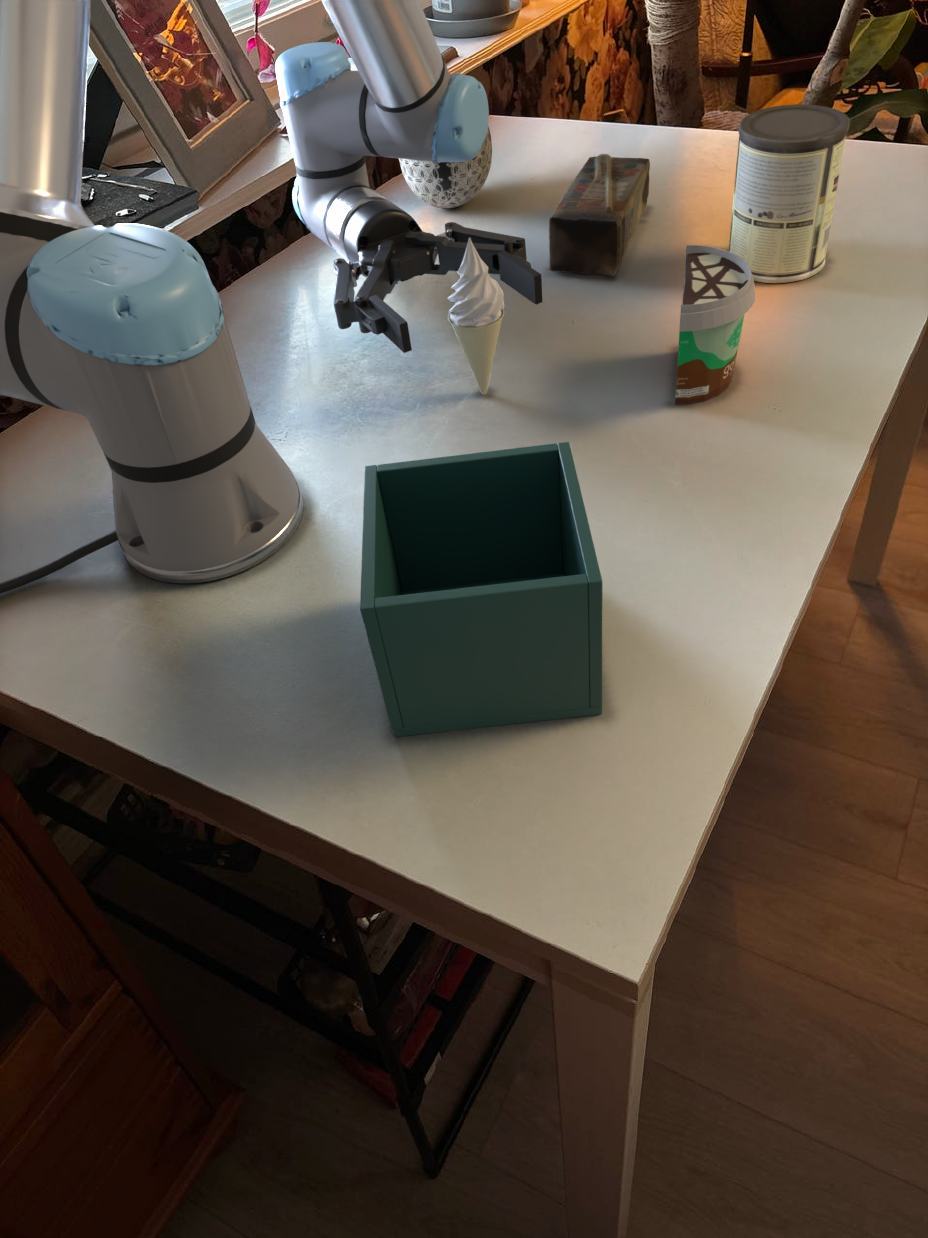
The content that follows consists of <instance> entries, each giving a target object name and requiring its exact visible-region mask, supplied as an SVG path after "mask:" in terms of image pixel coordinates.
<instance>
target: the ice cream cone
mask: <svg viewBox="0 0 928 1238" xmlns="http://www.w3.org/2000/svg"><path fill="white" fill-rule="evenodd" d="M456 273H457V274H458V275H459V279H458V280H457V282H455V283H454V284H452V285H451V287H450V289H453V290H455V291H454V292H452V294H451V295H448V297H447V300H448V301H449V302H450V303H454V305H453V306H452V307H451V308H449V310H448V314H447V321H448V322H449V323H450V324H451V327H452V329H453V331H454V334H455V336H456V339H457V341H458V343H459V345H460V348H461V350H462V352H463V354H464V357H465V359H466V362H467V364H468V366H469V368H470V371H471V373H472V375H473V378H474V380H475V382H476V384H477V386H478V389H479V392H480V394H482V395H483V396H484V395H487V393H488V388H489V383H490V379H491V373H492V370H493V364H494V360H495V354H496V348H497V343H498V339H499V333H500V329H501V324H502V319H503V317H504V315H505V310H504V308H505V302H504V291H503V289H502V288H501V286H500V284H499V282H498V281H497V280H495V278H492V277H491V276H490V274H488V266H487V265H486V264H485V263H484V262H483V261H482V259H481V258H480V257H479V255H478V253H477V251H476V249H475V247H474V245H473V243H472V241H471V238H469V239H468V243H467V247H466V250H465V254H464V257H463V260H462V263H461V266H460V268H459V270H458V271H456Z"/></svg>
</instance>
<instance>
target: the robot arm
mask: <svg viewBox="0 0 928 1238" xmlns="http://www.w3.org/2000/svg"><path fill="white" fill-rule="evenodd" d="M320 1H321V3H322V5H323V7H324V9H325V10H326V13H327V14H328V17H329V18H330V20H331V22H332V24H333V26H334V28H335V29H336V31H337V34H338V36H339V37H340V39H341V41H342V43H343V45H344V46H343V45H341V44H339V43H334V42H331V41H318V42H309V43H304V44H299V45H296V46H293V47H291V48H289V49H287V50H285V51H283V52H282V53H281V54H280V55H279V56H278V57H277V59H276V61H275V64H274V68H275V69H274V71H275V76H276V81H277V87H278V93H279V97H280V98H279V99H280V101H279V106H280V108H281V111H282V115H283V119H284V125H285V127H286V131H287V136H288V140H289V145H290V148H291V153H292V157H293V162H294V166H295V173H296V178H295V180H294V184H293V187H292V192H291V193H292V194H291V196H292V197H291V199H292V205H293V209H294V211H295V214H296V215H297V216H298V218H299V219H300V221H301V223H303V224H304V225H305V227H306V229H308V231H310V233H311V234H312V235H314V236H315V237H317V238H318V239H320V240H321V241H322V242H324V243H325V244H326V245H327V246H329V247H330V248H331V250H333V251H335V252H336V253H337V254H338V255H339V256H341V257H338V258H336V259H334V260H332V264H333V269H334V275H335V279H336V281H335V286H334V294H333V302H332V303H333V308H334V312H335V316H336V321H337V327H338V329H340V330H346V329H350V328H351V327H352V323H358V326H359V331H360V332H361V333H362V334H369V333H372V334H374V335H377V336H379V335H380V334H383V335H384V336H385V337H386V338H387V339H388V340H390V342H392V343H393V344H394V345H395V346H396V347H397V348H398V349H399V350H400V351H401V352H403V354H406V353H408V352H411V351H413V349H412V341H411V336H410V330H409V323H408V321H407V320H406V319H405V318H404V317H402V316H401V315H400V313H398V312H397V311H395V310H394V308H392V307H391V306H390V305H389V304H388V303H386V302H385V301H384V300H385V299H386V297H387V295H391V294H392V292H393V290H394V288H395V286H396V285H398V283H399V282H401V283H403V282H406V281H409V280H412V279H413V278H416V277H422V276H424V275H435V276H446V275H447V274H448V272H457V271H458V270H459V268H460V266H461V263H462V260H463V257H464V254H465V250H466V247H467V243H468V239H469V238H471V241H472V243H473V245H474V247H475V249H476V251H477V253H478V255H479V257H480V258H481V259H482V261H483V262H484V263H485V264H486V265H487V266H488V274H489V275H499V279H500V281H501V282H502V283H504V284H505V285H506V286H508V287H510V288H511V289H512V290H514V291H515V292H517V293H518V294H520V295H521V296H522V297H523V298H525V299H527V300H528V301H529V302H531V303H532V304H534V305H539V304H542V303H543V300H544V299H543V281H542V273H540V272H539V271H537V270H536V269H535V268H533V267H532V263H531V262H530V261H528V260H527V247H526V238H524V237H519V236H514V235H510V234H503V233H497V232H492V231H487V230H482V229H477V228H470V227H466V226H463V225H461V224H459V223H457V222H455V221H449V222H446V223H445V224H444V231H445V232H442V233H440V234H437V235H435V234H434V233H431V232H426V231H424V230H422V228H421V226H420V225H419V224H418V223H417V221H416V220H415V218H414V217H413V216H412V215H410V214H409V213H408V212H406V211H405V210H404V209H402V208H400V207H399V206H398V205H396V204H395V203H393V202H392V201H391V200H389V199H388V198H386V197H385V196H384V195H382V194H381V193H379V192H377V191H376V190H375V189H373V188H372V187H371V186H370V183H369V177H368V169H367V165H366V161H367V160H366V157H378V158H391V159H398V160H399V159H409V160H418V161H428V162H434V163H440V162H467V161H470V160H472V159H473V158H474V157H475V156H476V155H477V154H478V153H479V152H480V150H481V148H482V144H483V142H484V140H485V138H486V134H487V130H488V126H489V123H490V109H489V107H490V106H489V100H488V95H487V92H486V90H485V87H484V86H483V83H482V82H481V81H479V80H477V78H476V77H474V76H471V75H467V74H462V73H461V72H455V73H451V72H450V71H449V69H448V67H447V63H446V61H445V59H444V56H443V55H442V53H441V50H440V48H439V45H438V44H437V43H438V42H437V41H436V38H435V36H434V33H433V31H432V28H431V26H430V24H429V21H428V18H427V16H426V14H425V12H424V9H423V7H422V4H421V2H420V0H320ZM91 6H92V0H0V397H9V398H14V399H18V400H21V401H25V402H29V403H33V404H37V405H42V406H45V407H49V408H52V409H57V410H62V411H67V412H69V413H74V414H78V415H82V416H83V417H84V418H86V420H87V421H88V424H89V425H90V427H91V429H92V432H93V434H94V436H95V438H96V440H97V442H98V445H99V447H100V449H101V450H102V453H103V455H104V457H105V459H106V461H107V463H108V464H107V465H108V466H109V468H110V471H111V481H112V482H111V485H112V496H113V497H112V499H113V502H112V503H113V515H114V516H113V517H114V528H115V530H113V531H111V532H109V533H107V534H105V535H103V536H101V537H99V538H97V539H94V540H92V541H90V542H88V543H86V544H84V545H82V546H80V547H78V548H76V549H74V550H72V551H70V552H69V553H66V554H64V555H63V556H61V557H59V558H57V559H55V560H53V561H51V562H49V563H47V564H45V565H42V566H40V567H38V568H35V569H33V570H31V571H29V572H26V573H23V574H21V575H18V576H15V577H13V578H10V579H7V580H5V581H1V582H0V594H3V593H7V592H9V591H12V590H15V589H17V588H19V587H23V586H25V585H27V584H31V583H32V582H36V581H38V580H40V579H42V578H44V577H45V578H46V577H47V576H49V575H51V574H53V573H55V572H57V571H59V570H62V569H63V568H65V567H67V566H69V565H71V564H73V563H75V562H76V561H77V562H78V561H79V560H80V559H82V558H85V557H87V556H89V555H91V554H92V553H95V552H97V551H98V550H101V549H103V548H105V547H107V546H109V545H111V544H114V543H116V542H118V543H119V546H120V548H121V550H122V552H123V554H124V556H125V558H126V560H127V561H128V563H129V564H130V565H131V566H132V568H134V569H135V570H136V571H138V573H140V574H142V575H143V576H146V577H147V578H150V579H154V580H157V581H160V582H164V583H172V584H197V583H206V582H212V581H216V580H220V579H223V578H224V579H225V578H227V577H230V576H235V575H237V574H239V573H242V572H244V571H246V570H249V569H251V568H252V567H256V565H258V564H260V563H262V562H264V561H265V560H267V559H268V558H269V557H271V556H272V555H274V554H275V553H276V552H278V551H279V550H280V549H281V548H282V547H283V546H284V545H286V544H287V542H288V541H289V540H290V539H291V538H292V536H293V535H294V533H295V532H296V530H297V529H298V527H299V524H300V522H301V519H302V516H303V512H304V511H303V510H304V503H303V502H304V501H303V498H302V494H301V490H300V487H299V484H298V482H297V479H296V477H295V476H294V474H293V471H292V469H291V468H290V466H289V465H288V464H287V462H286V461H285V460H284V459H283V457H282V456H281V455H280V453H279V452H278V451H277V450H276V448H275V447H274V445H273V444H272V443H271V442H270V440H269V439H268V438H267V436H266V435H265V433H263V431H262V429H260V427H259V426H258V425H257V421H256V419H255V415H254V413H253V409H252V406H251V402H250V399H249V397H248V392H247V389H246V385H245V383H244V382H245V381H244V378H243V376H242V372H241V369H240V365H239V361H238V357H237V354H236V350H235V348H234V344H233V342H232V336H231V334H230V330H229V327H228V324H227V320H226V316H225V313H224V308H223V305H222V301H221V297H220V295H219V292H218V290H217V289H216V287H215V286H214V284H213V282H212V280H211V278H210V275H209V271H208V269H207V267H206V264H205V262H204V260H203V258H202V256H201V255H200V254H199V252H198V251H197V249H196V248H194V246H193V245H191V244H190V243H189V242H188V241H187V240H186V239H184V238H182V237H181V236H179V235H177V234H176V233H173V232H171V231H168V230H166V229H163V228H160V227H157V226H151V225H148V224H147V225H146V224H142V223H141V224H140V223H122V222H121V223H115V225H113V226H110V227H105V226H103V225H101V224H98V225H95V223H94V222H93V220H92V219H91V218H90V217H89V216H88V214H87V213H86V211H85V209H84V207H83V206H82V202H81V199H82V183H83V182H82V179H83V163H84V162H83V161H84V145H85V143H84V142H85V126H86V125H85V123H86V105H87V104H86V103H87V88H88V87H87V84H88V68H89V67H88V65H89V49H90V48H89V47H90V45H89V44H90V30H91V29H90V26H91V8H92V7H91ZM348 54H349V57H350V58H351V60H352V62H353V64H354V66H355V68H356V70H352V69H351V67H352V66H351V65H352V64H351V62H350V61H349V57H348ZM437 257H438V258H437ZM437 259H438V263H436V261H437ZM360 276H363V277H364V278H365V279H364V281H363V283H362V284H361V285H360V288H359V290H357V293H356V292H355V291H356V290H355V288H356V287H358V282H357V281H359V278H360ZM355 293H356V295H355Z"/></svg>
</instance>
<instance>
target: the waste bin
mask: <svg viewBox="0 0 928 1238" xmlns="http://www.w3.org/2000/svg"><path fill="white" fill-rule="evenodd" d="M363 479H364V480H363V481H364V482H363V509H362V542H361V543H362V546H361V570H360V571H361V573H360V574H361V575H360V577H361V578H360V603H359V605H360V606H359V610H360V614H361V617H362V622H363V625H364V630H365V633H366V637H367V641H368V644H369V648H370V651H371V656H372V660H373V665H374V667H375V672H376V676H377V679H378V683H379V687H380V691H381V695H382V699H383V703H384V706H385V710H386V714H387V718H388V722H389V725H390V729H391V733H392V736H393V737H394V738H397V737H404V736H406V737H407V736H415V735H424V734H425V735H426V734H434V733H442V732H443V733H444V732H451V731H460V730H469V729H477V728H478V729H479V728H486V727H487V728H488V727H497V726H506V725H514V724H525V723H533V722H540V721H550V720H559V719H560V720H561V719H569V718H576V717H577V718H578V717H588V716H596V715H602V714H603V579H602V573H601V570H600V565H599V560H598V557H597V552H596V548H595V544H594V540H593V537H592V532H591V527H590V524H589V519H588V515H587V512H586V507H585V503H584V499H583V498H584V497H583V494H582V489H581V485H580V482H579V477H578V473H577V469H576V465H575V461H574V457H573V453H572V448H571V443H570V441H565V442H558V443H555V442H554V443H546V444H538V445H531V446H529V445H528V446H521V447H514V448H506V449H495V450H488V451H482V452H481V451H480V452H471V453H464V454H455V455H447V456H440V457H432V458H424V459H423V458H422V459H416V460H415V459H414V460H407V461H397V462H390V463H381V464H372V465H365V466H364V477H363Z"/></svg>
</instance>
